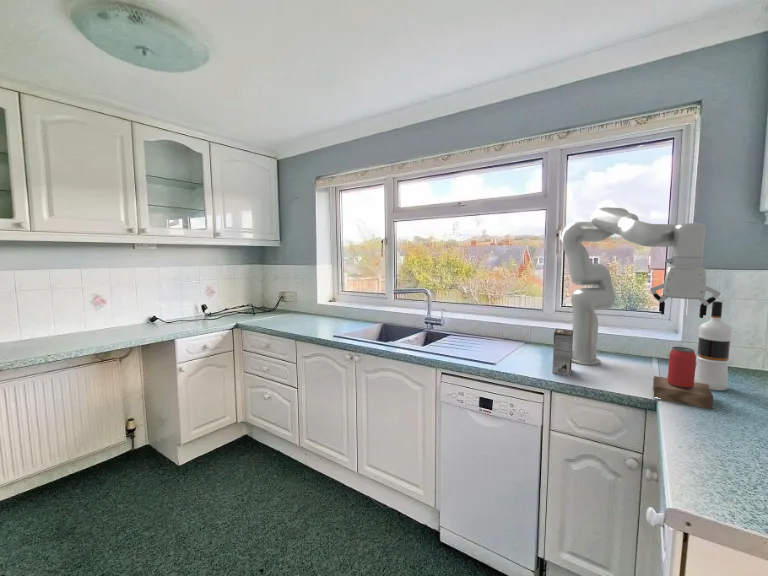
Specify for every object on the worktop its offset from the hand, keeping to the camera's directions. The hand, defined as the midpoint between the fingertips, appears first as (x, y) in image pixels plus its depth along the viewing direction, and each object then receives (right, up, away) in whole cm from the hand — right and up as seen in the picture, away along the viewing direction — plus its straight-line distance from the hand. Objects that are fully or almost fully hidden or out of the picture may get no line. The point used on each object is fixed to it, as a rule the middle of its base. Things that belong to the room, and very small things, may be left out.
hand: (681, 315), depth 116 cm
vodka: (+18, -26, +9) cm, 33 cm away
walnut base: (0, -26, 0) cm, 26 cm away
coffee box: (-26, -24, +26) cm, 44 cm away
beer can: (0, -23, 0) cm, 23 cm away
